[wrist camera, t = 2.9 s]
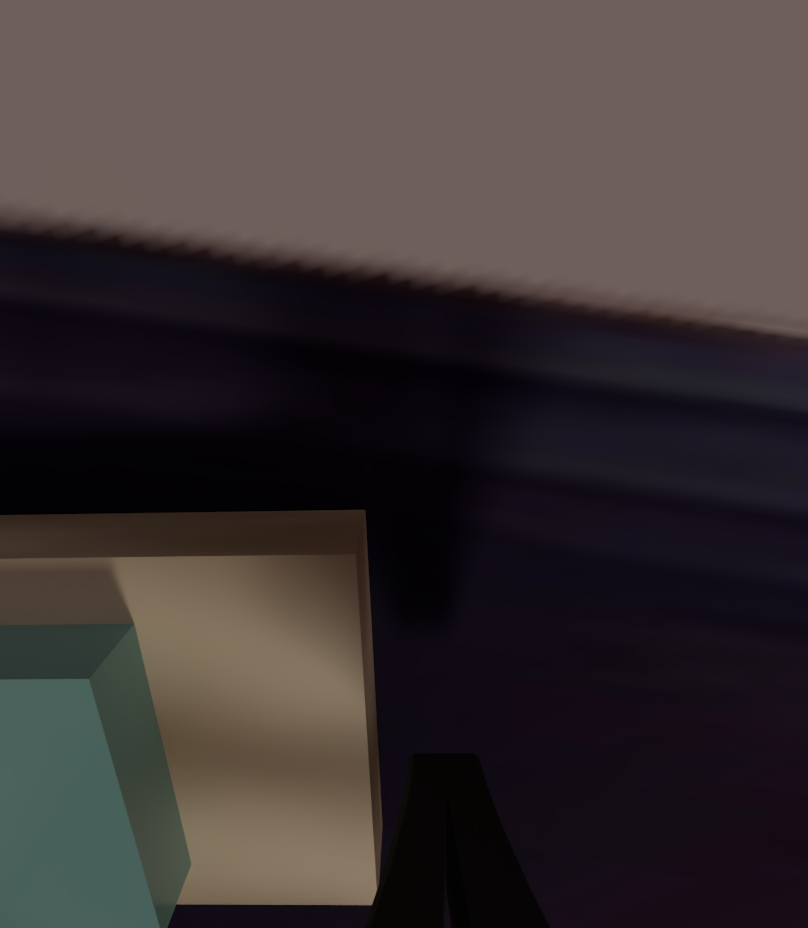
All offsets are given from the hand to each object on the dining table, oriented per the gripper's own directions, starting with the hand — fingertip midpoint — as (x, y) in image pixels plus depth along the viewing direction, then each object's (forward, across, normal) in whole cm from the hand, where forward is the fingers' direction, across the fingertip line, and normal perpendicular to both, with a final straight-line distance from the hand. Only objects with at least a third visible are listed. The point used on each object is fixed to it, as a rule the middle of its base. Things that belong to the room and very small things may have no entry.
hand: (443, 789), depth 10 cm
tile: (+1, +10, 0) cm, 10 cm away
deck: (+3, +10, 0) cm, 10 cm away
